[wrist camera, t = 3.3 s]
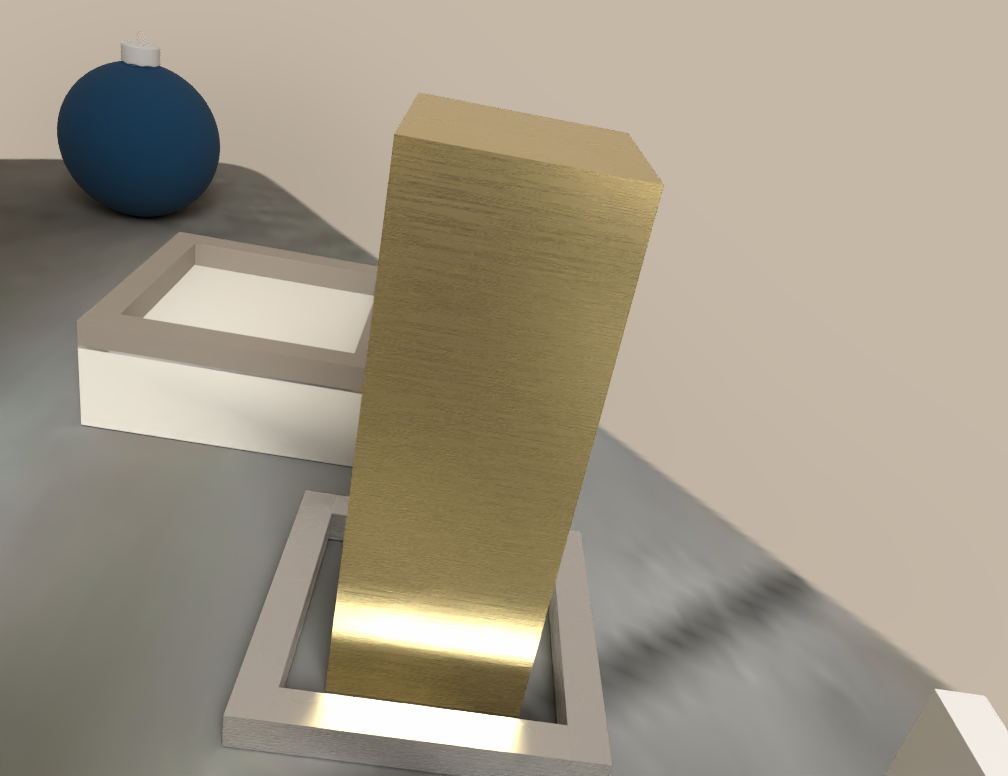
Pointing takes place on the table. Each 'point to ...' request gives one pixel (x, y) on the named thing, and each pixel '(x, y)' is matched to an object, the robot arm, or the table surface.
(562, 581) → the jamb socket
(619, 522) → the table surface
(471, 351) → the block
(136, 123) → the christmas ornament
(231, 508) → the table surface
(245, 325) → the white square tray
